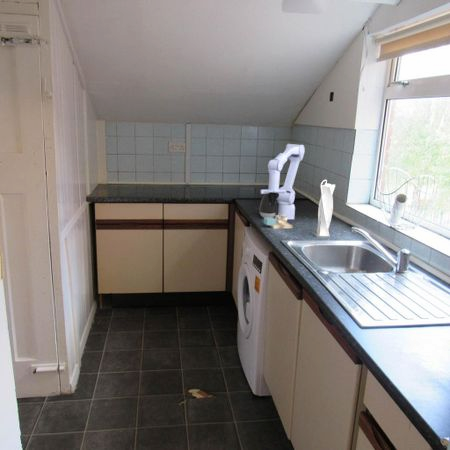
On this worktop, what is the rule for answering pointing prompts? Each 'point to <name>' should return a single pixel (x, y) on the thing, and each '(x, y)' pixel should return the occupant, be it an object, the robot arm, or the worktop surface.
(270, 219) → the stub
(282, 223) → the board
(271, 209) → the dark egg-shaped dome
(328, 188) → the skyscraper
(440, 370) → the worktop surface
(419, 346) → the worktop surface
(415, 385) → the worktop surface
